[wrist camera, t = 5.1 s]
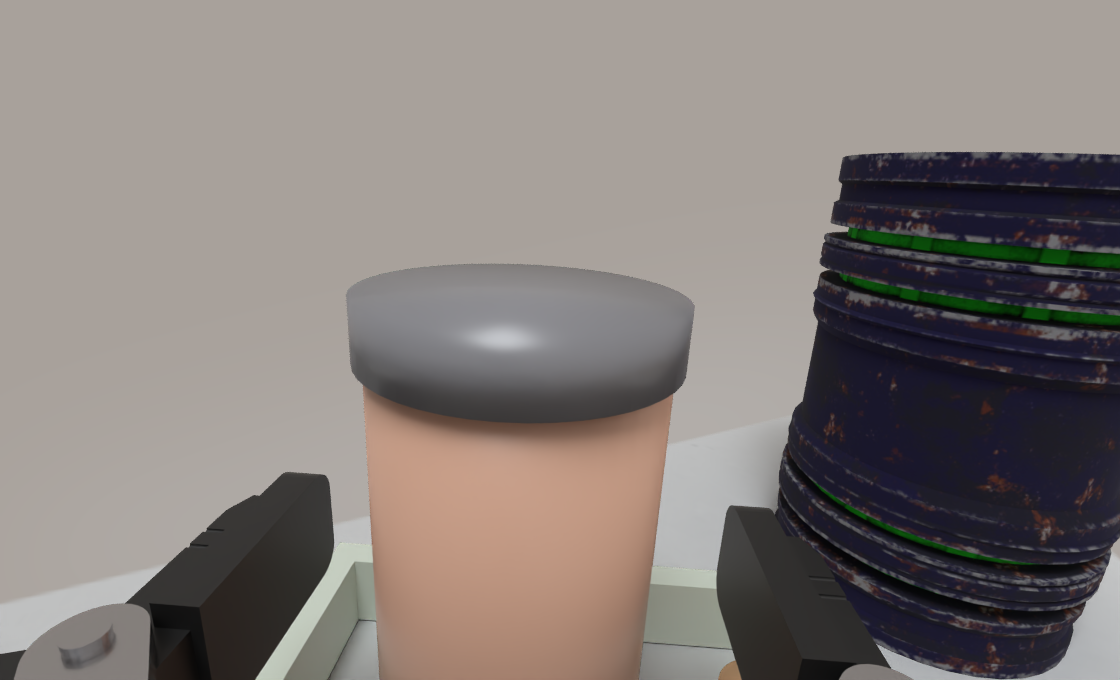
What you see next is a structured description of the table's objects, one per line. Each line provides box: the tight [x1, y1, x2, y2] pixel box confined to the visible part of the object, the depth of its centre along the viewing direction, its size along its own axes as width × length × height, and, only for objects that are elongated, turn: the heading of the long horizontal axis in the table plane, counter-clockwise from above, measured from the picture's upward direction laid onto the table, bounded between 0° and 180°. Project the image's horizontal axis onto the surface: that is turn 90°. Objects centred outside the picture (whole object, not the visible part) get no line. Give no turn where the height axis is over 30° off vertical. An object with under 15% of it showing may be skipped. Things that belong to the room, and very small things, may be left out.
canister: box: [346, 264, 694, 680], centre depth 10 cm, size 5×5×12 cm
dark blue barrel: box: [775, 152, 1120, 679], centre depth 19 cm, size 10×10×15 cm
